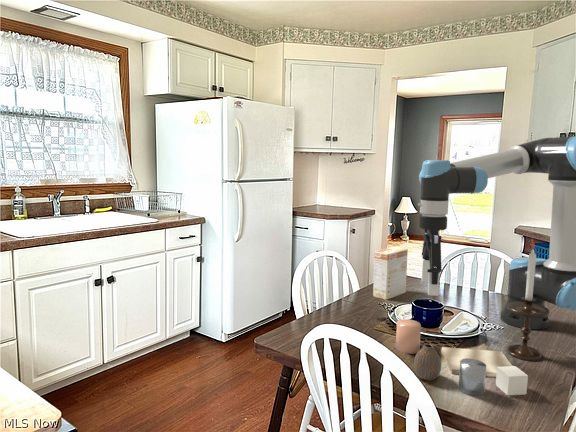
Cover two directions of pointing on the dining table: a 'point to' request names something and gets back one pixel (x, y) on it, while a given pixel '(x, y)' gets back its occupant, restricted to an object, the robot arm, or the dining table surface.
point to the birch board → (486, 356)
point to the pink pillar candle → (408, 336)
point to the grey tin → (472, 377)
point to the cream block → (511, 380)
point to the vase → (427, 363)
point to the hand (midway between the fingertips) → (429, 287)
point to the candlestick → (527, 315)
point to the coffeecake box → (390, 272)
